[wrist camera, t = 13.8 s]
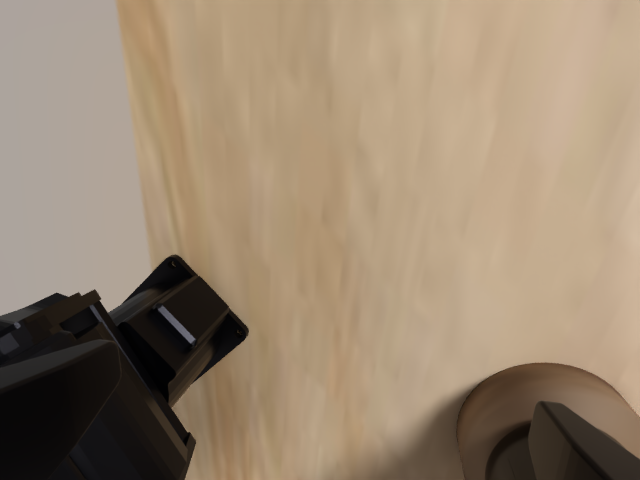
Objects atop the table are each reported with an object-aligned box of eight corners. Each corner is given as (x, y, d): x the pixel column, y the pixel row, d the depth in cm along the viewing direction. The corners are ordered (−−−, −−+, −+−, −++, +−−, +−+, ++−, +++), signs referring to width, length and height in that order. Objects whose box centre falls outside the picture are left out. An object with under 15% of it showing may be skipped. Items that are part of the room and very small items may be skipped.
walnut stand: (522, 523, 23) (536, 567, 21) (423, 417, 23) (426, 450, 20) (673, 454, 21) (708, 496, 18) (565, 331, 20) (587, 358, 18)
